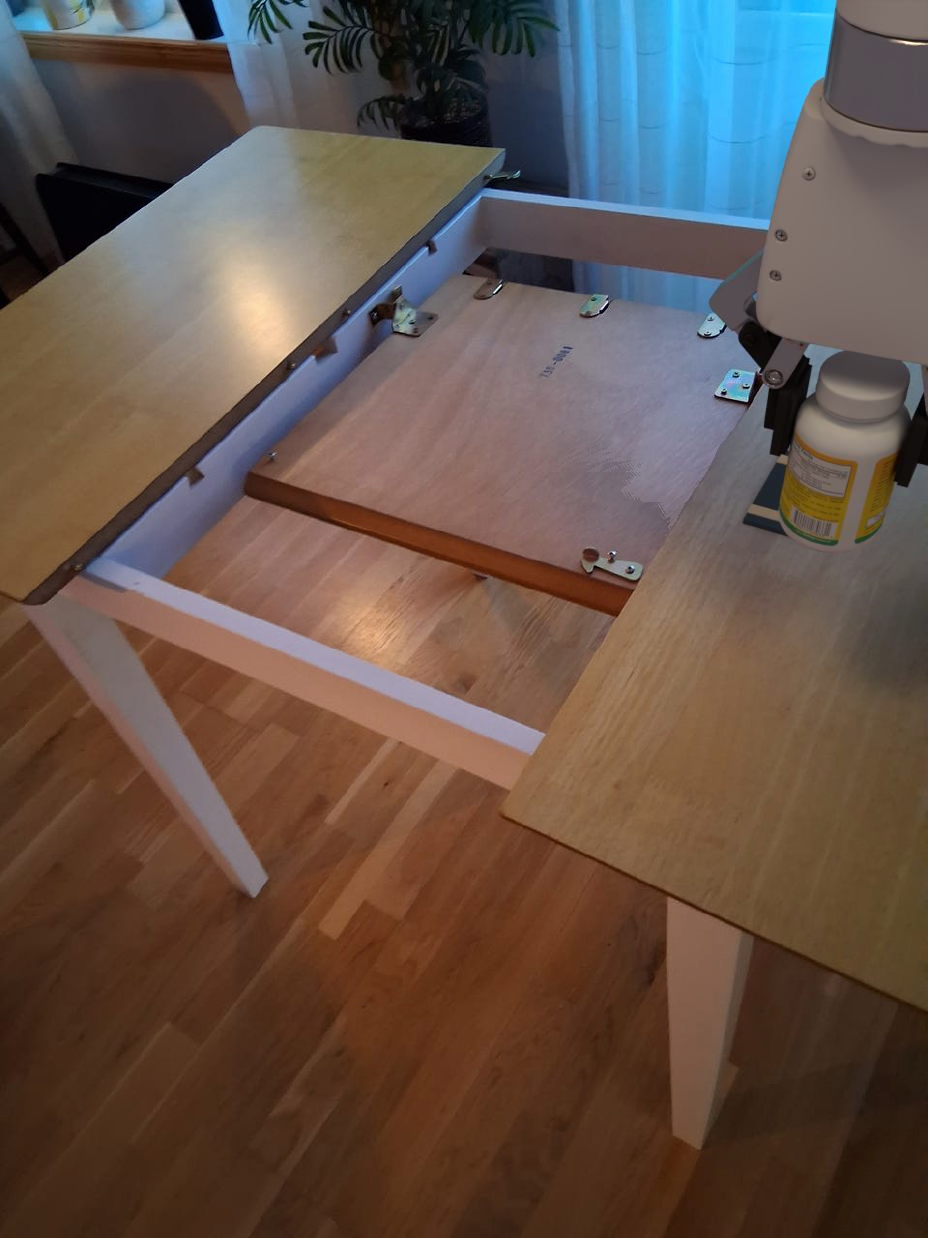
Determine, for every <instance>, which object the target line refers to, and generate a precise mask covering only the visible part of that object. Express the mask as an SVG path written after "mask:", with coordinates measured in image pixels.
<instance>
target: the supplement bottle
mask: <svg viewBox="0 0 928 1238" xmlns="http://www.w3.org/2000/svg"><path fill="white" fill-rule="evenodd" d="M910 382H911V372H910V369H909V368H908V366H907V365H906V363H905V362H904V361H900V360H894V359H889V358H884V357H878V356H873V355H867V354H862V353H857V352H851V351H846V350H841V351H838V352H835V353H834V354H832V355H830V356H829V357H827V358H826V359H825V360H824V361H823V362H822V364H821V366H820V367H819V371H818V375H817V380H816V385H815V389H814V391H813V392H812V393H811V394H809V395H808V396H807V398H806V399H805V400H804V402H803V403H802V404H801V406H800V407H799V409H798V411H797V414H796V417H795V423H794V427H793V433H792V439H791V444H790V446H789V448H788V451H789V455H788V461H787V466H786V472H785V477H784V483H783V488H782V493H781V498H780V503H779V510H778V516H779V521H780V524H781V526H782V528H783V529H784V531H785V533H786V534H787V535H788V536H787V537H789V538H790V539H791V540H792V541H794V542H795V543H797V544H799V545H800V546H801V547H804V548H806V549H809V550H812V551H815V552H820V553H825V554H842V553H848V552H851V551H856V550H859V549H861V548H862V547H864V546H866V545H867V544H869V543H870V542H871V541H873V540H874V539H875V538H876V537H877V535H878V534H879V532H880V531H881V528H882V526H883V522H884V520H885V517H886V513H887V510H888V507H889V504H890V500H891V497H892V494H893V491H894V487H895V484H896V482H894V481H893V480H894V477H895V473H896V470H897V467H898V463H899V460H900V456H901V453H902V450H903V446H904V443H905V439H906V436H907V433H908V429H909V426H910V423H911V420H912V417H911V414H910V411H909V409H908V407H907V406H906V404H905V402H906V400H907V395H908V392H909V388H910V387H909V386H910V384H911V383H910Z"/></svg>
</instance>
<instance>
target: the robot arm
mask: <svg viewBox="0 0 928 1238" xmlns="http://www.w3.org/2000/svg"><path fill="white" fill-rule="evenodd" d="M832 20H833V21H832V25H831V32H830V40H829V44H828V51H827V57H826V64H825V72H824V76H823V77H821V78H819V79H818V80H816V81H815V82H814V83H813V84H811V86H810V88H809V91H808V93H807V94H806V97H805V98H804V101H803V104H802V106H801V110H800V113H799V115H798V118H797V120H796V123H795V127H794V130H793V133H792V136H791V139H790V143H789V146H788V149H787V153H786V155H785V160H784V163H783V167H782V171H781V175H780V178H779V181H778V186H777V191H776V195H775V199H774V203H773V207H772V211H771V216H770V220H769V225H768V230H767V234H766V237H765V238H766V239H765V242H764V247H762V248H761V249H760V250H759V251H758V252H756V253H755V254H754V255H753V256H752V257H750V258H749V259H748V260H747V261H746V262H745V263H743V264H742V265H741V266H740V267H738V268H737V269H736V270H735V271H734V272H733V273H731V274H730V275H729V276H727V277H726V279H724V280H723V281H722V282H720V283H719V285H718V286H717V288H716V289H715V290H714V292H713V294H712V295H711V296H710V298H709V300H708V306H709V308H710V310H711V311H712V312H713V313H714V314H715V315H716V316H717V317H718V319H720V320H721V322H722V323H723V324H725V326H726V327H727V328H728V329H729V330H730V331H731V332H735V334H736V335H737V340H738V343H739V344H740V345H741V347H742V348H743V349H744V350H745V352H746V353H747V354H748V355H749V357H750V358H751V359H752V360H753V361H754V362H755V363H756V365H757V366H758V368H759V369H760V370H761V371H762V373H761V381H762V383H763V384H764V385H765V386H766V387H768V392H767V398H766V406H765V412H764V418H763V419H764V420H763V429H767V430H771V431H772V434H771V441H770V446H769V455H771V456H774V457H777V458H779V457H780V456H781V454H782V455H785V454H786V452H787V450H788V451H789V449H790V444H791V439H792V433H793V427H794V423H795V417H796V414H797V411H798V409H799V407H800V406H801V404H802V403H803V402H804V400H805V399H806V398H807V397H808V392H809V387H810V381H811V376H812V370H813V364H810V361H811V357H808V356H806V355H805V353H806V350H808V347H810V344H811V345H816V346H821V347H826V348H831V349H836V350H841V351H844V350H846V351H851V352H857V353H862V354H867V355H873V356H878V357H884V358H889V359H894V360H900V361H902V362H904V363H905V362H906V363H910V364H911V363H912V364H917V365H920V370H921V379H922V386H923V387H922V388H923V392H922V394H921V397H920V399H919V402H918V404H917V406H916V409H915V410H914V413H913V415H912V417H911V423H910V426H909V429H908V433H907V436H906V439H905V443H904V446H903V450H902V453H901V456H900V460H899V463H898V467H897V470H896V473H895V477H894V480H893V481H894V482H895V483H896V486H898V487H902V488H906V489H907V488H909V486H910V483H911V481H912V478H913V477H914V473H915V471H916V469H917V466H918V465H923V466H926V467H928V0H836V1H835V8H834V13H833V19H832ZM755 295H756V296H755ZM754 296H755V297H756V298H754Z"/></svg>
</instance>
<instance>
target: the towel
mask: <svg viewBox="0 0 928 1238" xmlns="http://www.w3.org/2000/svg"><path fill="white" fill-rule="evenodd" d="M788 455H789V449H788V450H787V452H786V454H785V455H782V454H781V456H780V457H777V459H776V461H775V464H774V465H773V467H772V469H771V471H770V473H769V474H768V476H767V478H766V479H765V481H764V483H763V484H762V486H761V488H760V490H759V491H758V493H757V495H756V497H755V498H754V500H753V501H752V503H751V504H750V506H749V508H748V510H746V511H747V512H746V514H745V516H744V517H743V519H742V523H743V524H744V525H749V526H752V527H756V528H759V529H762V530H765V531H770V532H772V533H777V534H780V535H784V536H786V537H789V536H788V535H787V534H786V533H785V531H784V529H783V528H782V526H781V524H780V521H779V516H778V510H779V503H780V498H781V493H782V488H783V483H784V477H785V472H786V466H787V461H788Z"/></svg>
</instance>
